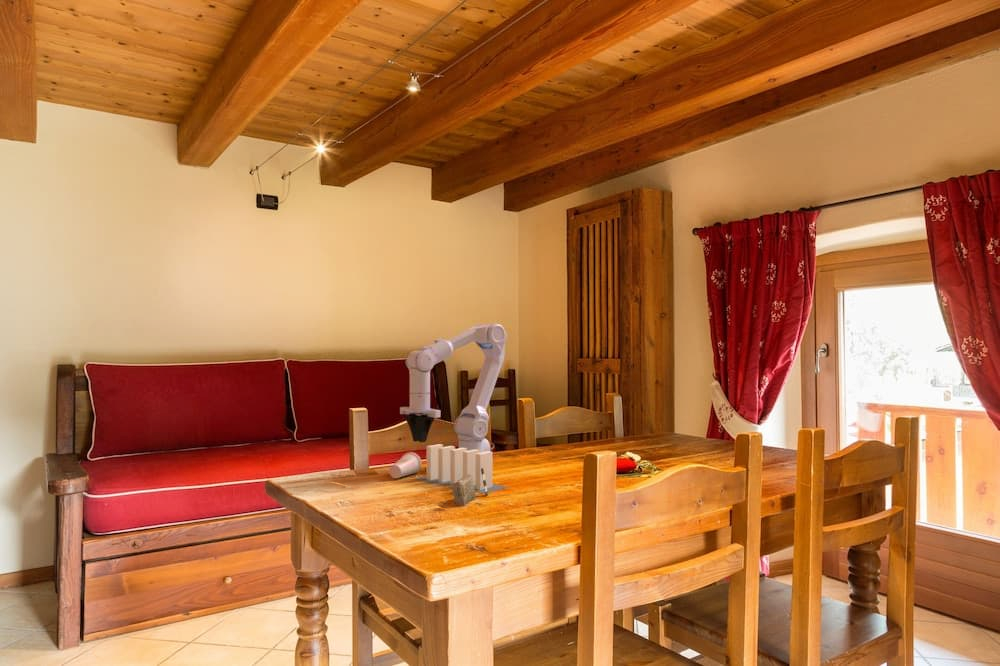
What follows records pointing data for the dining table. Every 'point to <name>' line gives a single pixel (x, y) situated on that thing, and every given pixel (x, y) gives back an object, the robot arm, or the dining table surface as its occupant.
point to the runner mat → (447, 484)
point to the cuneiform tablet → (466, 489)
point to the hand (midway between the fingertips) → (419, 441)
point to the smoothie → (406, 465)
